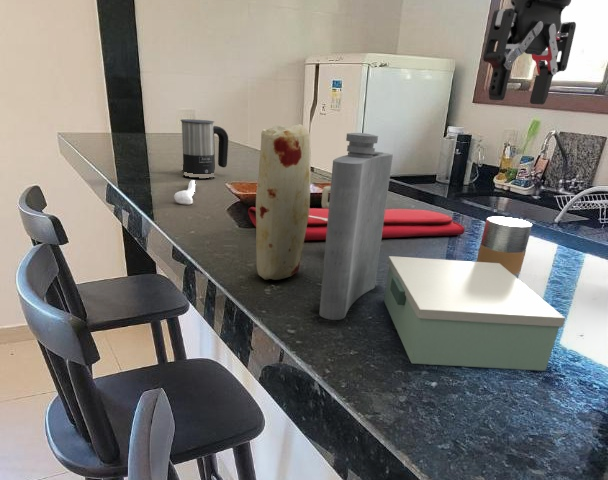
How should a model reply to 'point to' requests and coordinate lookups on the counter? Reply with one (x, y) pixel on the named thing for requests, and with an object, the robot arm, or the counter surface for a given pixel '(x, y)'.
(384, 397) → the counter surface
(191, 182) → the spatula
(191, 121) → the milk frother
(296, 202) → the food model
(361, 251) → the hip flask
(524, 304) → the box
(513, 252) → the tin can
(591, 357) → the counter surface
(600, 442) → the counter surface
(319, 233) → the dish drying mat
